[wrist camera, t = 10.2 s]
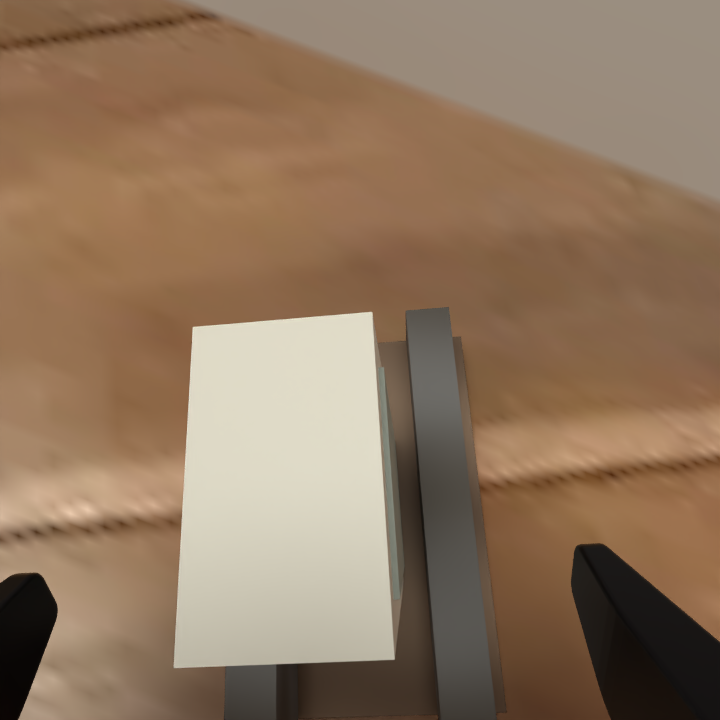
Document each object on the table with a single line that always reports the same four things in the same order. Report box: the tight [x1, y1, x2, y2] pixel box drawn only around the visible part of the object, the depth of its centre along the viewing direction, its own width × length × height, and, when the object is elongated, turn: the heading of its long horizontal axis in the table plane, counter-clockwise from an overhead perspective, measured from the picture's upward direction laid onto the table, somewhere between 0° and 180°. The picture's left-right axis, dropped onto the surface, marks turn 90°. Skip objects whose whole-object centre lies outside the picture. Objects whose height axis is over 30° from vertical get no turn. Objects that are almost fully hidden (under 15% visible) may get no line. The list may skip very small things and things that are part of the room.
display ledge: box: [224, 307, 507, 720], centre depth 18 cm, size 13×9×4 cm
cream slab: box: [174, 312, 405, 668], centre depth 13 cm, size 5×3×12 cm, turn 3°
